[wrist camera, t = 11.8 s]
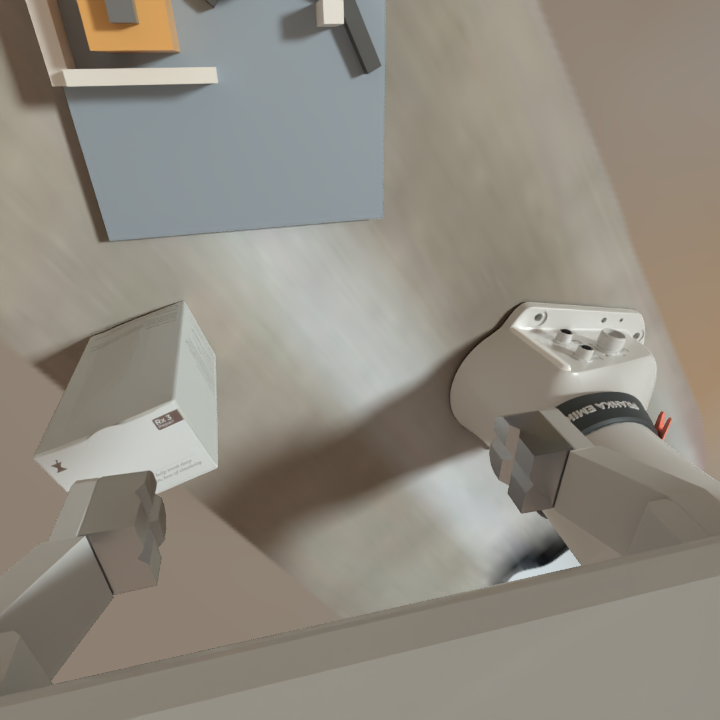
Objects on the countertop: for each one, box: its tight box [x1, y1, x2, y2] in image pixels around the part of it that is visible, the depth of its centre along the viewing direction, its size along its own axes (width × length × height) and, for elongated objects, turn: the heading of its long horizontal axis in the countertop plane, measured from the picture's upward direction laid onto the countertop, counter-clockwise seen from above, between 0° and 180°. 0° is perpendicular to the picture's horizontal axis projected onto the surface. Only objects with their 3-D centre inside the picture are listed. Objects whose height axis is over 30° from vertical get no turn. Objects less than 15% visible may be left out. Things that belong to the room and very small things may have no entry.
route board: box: [25, 0, 386, 241], centre depth 29 cm, size 20×18×4 cm
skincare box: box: [32, 301, 218, 494], centre depth 33 cm, size 8×6×15 cm
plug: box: [77, 0, 180, 53], centre depth 25 cm, size 4×4×6 cm
